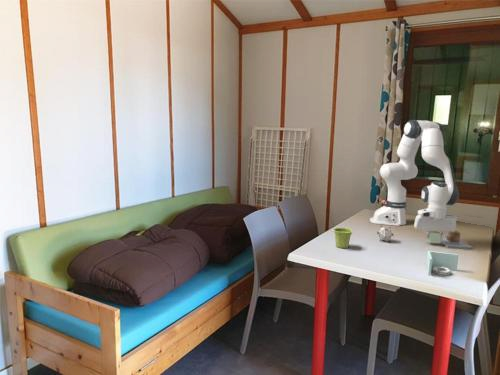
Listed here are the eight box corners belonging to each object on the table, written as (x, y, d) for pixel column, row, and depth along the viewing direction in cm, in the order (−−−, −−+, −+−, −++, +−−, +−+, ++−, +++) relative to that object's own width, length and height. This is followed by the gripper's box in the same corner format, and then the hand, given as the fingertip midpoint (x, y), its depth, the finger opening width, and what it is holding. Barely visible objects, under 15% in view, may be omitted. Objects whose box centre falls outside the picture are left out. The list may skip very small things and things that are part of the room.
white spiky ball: (386, 247, 209) (397, 232, 208) (387, 245, 201) (398, 230, 201) (372, 236, 212) (383, 222, 212) (372, 235, 204) (384, 220, 204)
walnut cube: (449, 241, 204) (450, 232, 203) (446, 239, 208) (447, 230, 208) (459, 242, 203) (460, 233, 202) (455, 239, 208) (456, 230, 207)
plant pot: (339, 242, 202) (340, 226, 201) (355, 246, 195) (356, 230, 194) (329, 246, 195) (329, 229, 194) (345, 250, 189) (346, 233, 187)
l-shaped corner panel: (428, 276, 159) (430, 259, 158) (426, 266, 170) (427, 250, 169) (460, 280, 155) (462, 263, 154) (456, 270, 166) (458, 254, 165)
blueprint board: (447, 248, 197) (447, 245, 197) (434, 237, 216) (434, 234, 216) (472, 249, 195) (472, 247, 195) (457, 238, 215) (457, 236, 215)
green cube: (429, 242, 201) (430, 233, 200) (426, 239, 205) (427, 230, 205) (439, 243, 200) (440, 233, 199) (436, 240, 205) (437, 231, 204)
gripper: (455, 212, 202) (452, 237, 204) (414, 210, 204) (412, 235, 207) (460, 215, 195) (456, 241, 198) (418, 213, 198) (415, 238, 201)
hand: (433, 238), depth 202 cm, fingers closed on green cube, 5 cm apart
